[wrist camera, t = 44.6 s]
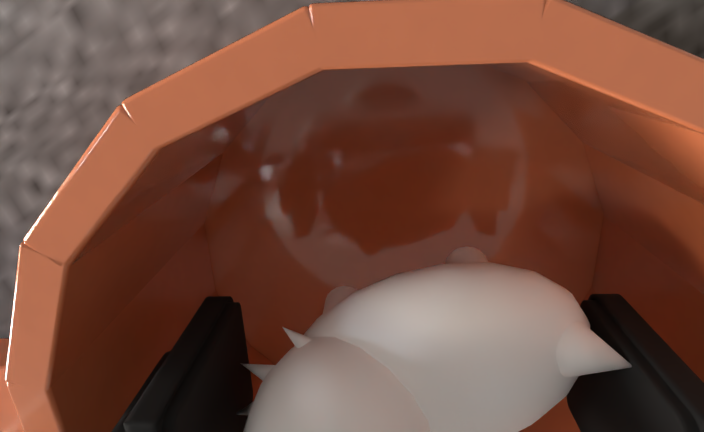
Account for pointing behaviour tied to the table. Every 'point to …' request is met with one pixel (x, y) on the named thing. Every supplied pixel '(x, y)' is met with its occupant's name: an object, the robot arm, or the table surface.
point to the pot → (362, 188)
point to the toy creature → (433, 354)
